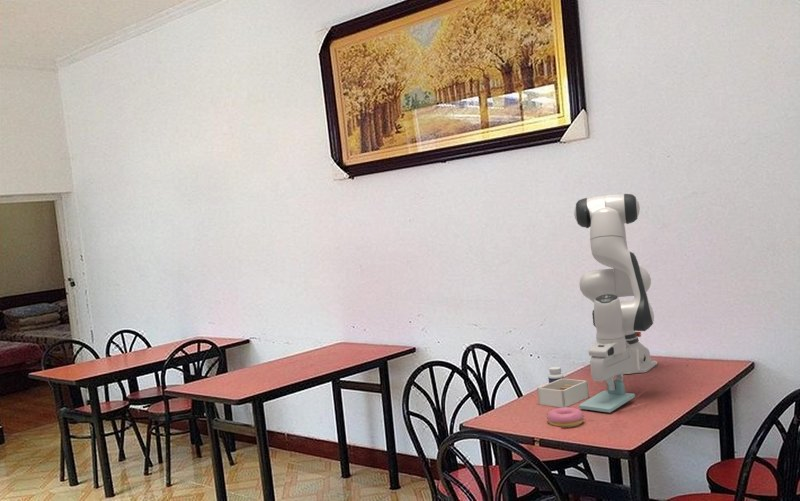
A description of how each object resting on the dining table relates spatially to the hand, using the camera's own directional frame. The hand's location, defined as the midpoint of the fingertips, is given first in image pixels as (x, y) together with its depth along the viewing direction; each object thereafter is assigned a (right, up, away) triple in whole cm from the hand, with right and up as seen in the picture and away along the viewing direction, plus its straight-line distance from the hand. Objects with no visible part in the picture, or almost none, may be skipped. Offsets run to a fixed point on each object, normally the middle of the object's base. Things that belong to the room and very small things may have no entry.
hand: (615, 388), depth 226 cm
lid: (-4, -4, -4) cm, 6 cm away
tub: (-15, -6, +8) cm, 18 cm away
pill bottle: (-14, -6, +21) cm, 26 cm away
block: (-13, -5, +10) cm, 17 cm away
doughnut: (-19, -8, -14) cm, 25 cm away
